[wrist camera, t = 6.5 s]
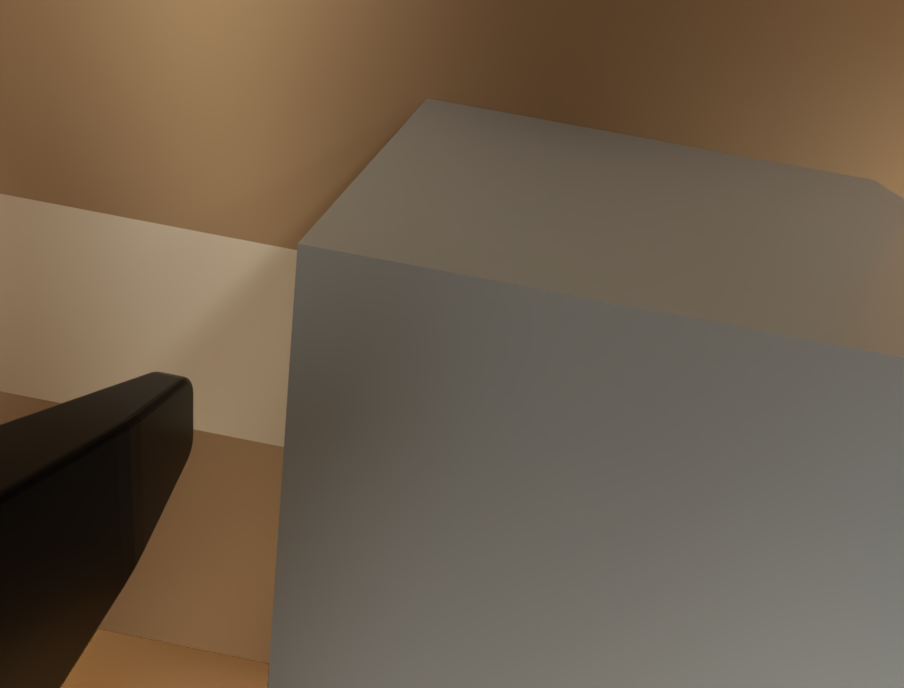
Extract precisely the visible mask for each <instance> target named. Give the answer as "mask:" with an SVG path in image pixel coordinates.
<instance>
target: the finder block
mask: <svg viewBox="0 0 904 688" xmlns="http://www.w3.org/2000/svg"><path fill="white" fill-rule="evenodd" d="M268 688H904V199H903V198H901V197H900V196H898V195H897V194H895V193H894V192H892V191H890V190H889V189H887V188H886V187H884V186H882V185H881V184H879V183H878V182H876V181H875V180H871V179H865V178H860V177H854V176H849V175H843V174H838V173H832V172H827V171H821V170H816V169H810V168H805V167H800V166H794V165H789V164H783V163H778V162H772V161H767V160H761V159H756V158H750V157H745V156H739V155H734V154H728V153H723V152H718V151H712V150H707V149H701V148H696V147H690V146H685V145H679V144H674V143H668V142H663V141H657V140H652V139H646V138H641V137H635V136H630V135H625V134H619V133H614V132H608V131H603V130H597V129H592V128H586V127H581V126H575V125H570V124H564V123H559V122H553V121H548V120H543V119H537V118H532V117H526V116H521V115H515V114H510V113H504V112H499V111H493V110H488V109H482V108H477V107H471V106H466V105H461V104H455V103H450V102H444V101H439V100H433V99H428V98H427V99H426V100H425V101H424V102H423V104H422V105H421V106H420V107H419V108H418V109H417V110H416V111H415V112H414V114H413V115H412V116H411V117H410V118H409V119H408V120H407V121H406V123H405V124H404V125H403V126H402V127H401V128H400V129H399V130H398V132H397V133H396V134H395V135H394V136H393V137H392V138H391V139H390V140H389V142H388V143H387V144H386V145H385V146H384V147H383V148H382V149H381V151H380V152H379V153H378V154H377V155H376V156H375V157H374V158H373V160H372V161H371V162H370V163H369V164H368V165H367V166H366V167H365V169H364V170H363V171H362V172H361V173H360V174H359V175H358V176H357V177H356V179H355V180H354V181H353V182H352V183H351V184H350V185H349V186H348V188H347V189H346V190H345V191H344V192H343V193H342V194H341V195H340V197H339V198H338V199H337V200H336V201H335V202H334V203H333V204H332V206H331V207H330V208H329V209H328V210H327V211H326V212H325V213H324V214H323V216H322V217H321V218H320V219H319V220H318V221H317V222H316V223H315V225H314V226H313V227H312V228H311V229H310V230H309V231H308V232H307V234H306V235H305V236H304V237H303V238H302V239H301V240H300V241H299V243H298V245H297V260H296V274H295V289H294V304H293V319H292V334H291V348H290V363H289V378H288V393H287V408H286V422H285V437H284V452H283V467H282V482H281V496H280V511H279V526H278V541H277V556H276V570H275V585H274V600H273V615H272V630H271V644H270V659H269V674H268Z"/></svg>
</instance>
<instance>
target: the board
mask: <svg viewBox="0 0 904 688" xmlns="http://www.w3.org/2000/svg"><path fill="white" fill-rule="evenodd" d="M427 98H428V99H433V100H439V101H444V102H450V103H455V104H461V105H466V106H471V107H477V108H482V109H488V110H493V111H499V112H504V113H510V114H515V115H521V116H526V117H532V118H537V119H543V120H548V121H553V122H559V123H564V124H570V125H575V126H581V127H586V128H592V129H597V130H603V131H608V132H614V133H619V134H625V135H630V136H635V137H641V138H646V139H652V140H657V141H663V142H668V143H674V144H679V145H685V146H690V147H696V148H701V149H707V150H712V151H718V152H723V153H728V154H734V155H739V156H745V157H750V158H756V159H761V160H767V161H772V162H778V163H783V164H789V165H794V166H800V167H805V168H810V169H816V170H821V171H827V172H832V173H838V174H843V175H849V176H854V177H860V178H865V179H871V180H875V181H876V182H878V183H879V184H881V185H882V186H884V187H886V188H887V189H889V190H890V191H892V192H894V193H895V194H897V195H898V196H900V197H901V198H903V199H904V0H0V424H3V423H6V422H9V421H11V420H14V419H17V418H20V417H23V416H26V415H29V414H32V413H35V412H38V411H40V410H43V409H46V408H49V407H52V406H55V405H58V404H61V403H64V402H67V401H70V400H72V399H75V398H78V397H81V396H84V395H87V394H90V393H93V392H96V391H99V390H101V389H104V388H107V387H110V386H113V385H116V384H119V383H122V382H125V381H128V380H130V379H133V378H136V377H139V376H142V375H145V374H148V373H151V372H164V373H169V374H174V375H179V376H184V377H187V378H188V379H189V380H190V381H191V382H192V386H193V444H192V449H191V453H190V456H189V458H188V460H187V463H186V465H185V467H184V469H183V471H182V473H181V475H180V477H179V479H178V481H177V483H176V485H175V488H174V490H173V492H172V494H171V496H170V498H169V500H168V502H167V504H166V506H165V508H164V511H163V513H162V515H161V517H160V519H159V521H158V523H157V525H156V527H155V529H154V531H153V533H152V536H151V538H150V540H149V542H148V544H147V546H146V548H145V550H144V552H143V554H142V556H141V558H140V560H139V562H138V564H137V566H136V568H135V569H134V571H133V573H132V574H131V576H130V578H129V579H128V581H127V583H126V585H125V586H124V588H123V589H122V591H121V593H120V594H119V596H118V597H117V599H116V600H115V602H114V604H113V605H112V607H111V608H110V610H109V612H108V613H107V615H106V616H105V618H104V619H103V621H102V623H101V624H100V626H99V627H98V629H101V630H106V631H111V632H116V633H121V634H126V635H131V636H136V637H140V638H145V639H150V640H155V641H160V642H165V643H170V644H175V645H180V646H185V647H190V648H194V649H199V650H204V651H209V652H214V653H219V654H224V655H229V656H234V657H239V658H243V659H248V660H253V661H258V662H263V663H268V664H269V659H270V644H271V630H272V615H273V600H274V585H275V570H276V556H277V541H278V526H279V511H280V496H281V482H282V467H283V452H284V437H285V422H286V408H287V393H288V378H289V363H290V348H291V334H292V319H293V304H294V289H295V274H296V260H297V245H298V243H299V241H300V240H301V239H302V238H303V237H304V236H305V235H306V234H307V232H308V231H309V230H310V229H311V228H312V227H313V226H314V225H315V223H316V222H317V221H318V220H319V219H320V218H321V217H322V216H323V214H324V213H325V212H326V211H327V210H328V209H329V208H330V207H331V206H332V204H333V203H334V202H335V201H336V200H337V199H338V198H339V197H340V195H341V194H342V193H343V192H344V191H345V190H346V189H347V188H348V186H349V185H350V184H351V183H352V182H353V181H354V180H355V179H356V177H357V176H358V175H359V174H360V173H361V172H362V171H363V170H364V169H365V167H366V166H367V165H368V164H369V163H370V162H371V161H372V160H373V158H374V157H375V156H376V155H377V154H378V153H379V152H380V151H381V149H382V148H383V147H384V146H385V145H386V144H387V143H388V142H389V140H390V139H391V138H392V137H393V136H394V135H395V134H396V133H397V132H398V130H399V129H400V128H401V127H402V126H403V125H404V124H405V123H406V121H407V120H408V119H409V118H410V117H411V116H412V115H413V114H414V112H415V111H416V110H417V109H418V108H419V107H420V106H421V105H422V104H423V102H424V101H425V100H426V99H427Z"/></svg>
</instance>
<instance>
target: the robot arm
mask: <svg viewBox="0 0 904 688" xmlns="http://www.w3.org/2000/svg"><path fill="white" fill-rule="evenodd" d="M192 444H193V386H192V382H191V381H190V380H189V379H188V378H187V377H184V376H179V375H174V374H169V373H164V372H151V373H148V374H145V375H142V376H139V377H136V378H133V379H130V380H128V381H125V382H122V383H119V384H116V385H113V386H110V387H107V388H104V389H101V390H99V391H96V392H93V393H90V394H87V395H84V396H81V397H78V398H75V399H72V400H70V401H67V402H64V403H61V404H58V405H55V406H52V407H49V408H46V409H43V410H40V411H38V412H35V413H32V414H29V415H26V416H23V417H20V418H17V419H14V420H11V421H9V422H6V423H3V424H0V688H60V687H61V686H62V684H63V683H64V681H65V680H66V678H67V676H68V675H69V673H70V672H71V670H72V668H73V667H74V665H75V664H76V662H77V661H78V659H79V657H80V656H81V654H82V653H83V651H84V649H85V648H86V646H87V645H88V643H89V642H90V640H91V638H92V637H93V635H94V634H95V632H96V631H97V629H98V627H99V626H100V624H101V623H102V621H103V619H104V618H105V616H106V615H107V613H108V612H109V610H110V608H111V607H112V605H113V604H114V602H115V600H116V599H117V597H118V596H119V594H120V593H121V591H122V589H123V588H124V586H125V585H126V583H127V581H128V579H129V578H130V576H131V574H132V573H133V571H134V569H135V568H136V566H137V564H138V562H139V560H140V558H141V556H142V554H143V552H144V550H145V548H146V546H147V544H148V542H149V540H150V538H151V536H152V533H153V531H154V529H155V527H156V525H157V523H158V521H159V519H160V517H161V515H162V513H163V511H164V508H165V506H166V504H167V502H168V500H169V498H170V496H171V494H172V492H173V490H174V488H175V485H176V483H177V481H178V479H179V477H180V475H181V473H182V471H183V469H184V467H185V465H186V463H187V460H188V458H189V456H190V453H191V449H192Z"/></svg>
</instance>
